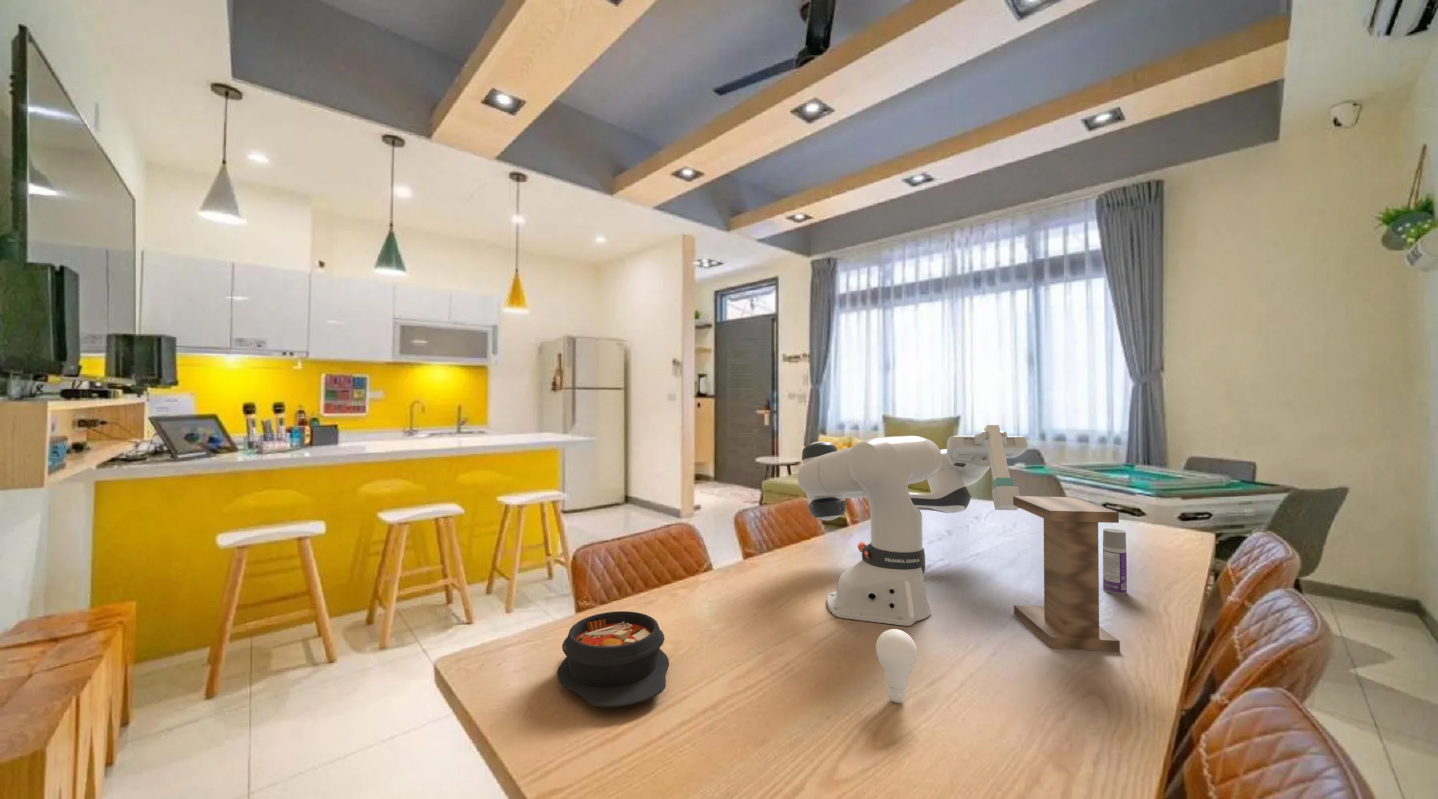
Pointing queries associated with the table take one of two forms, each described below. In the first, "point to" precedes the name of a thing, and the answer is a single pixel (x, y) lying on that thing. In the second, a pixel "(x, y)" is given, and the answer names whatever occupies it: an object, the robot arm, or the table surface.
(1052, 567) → the wooden i-beam block
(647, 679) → the casserole
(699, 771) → the table surface
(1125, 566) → the container
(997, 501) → the bar
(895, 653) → the lightbulb
